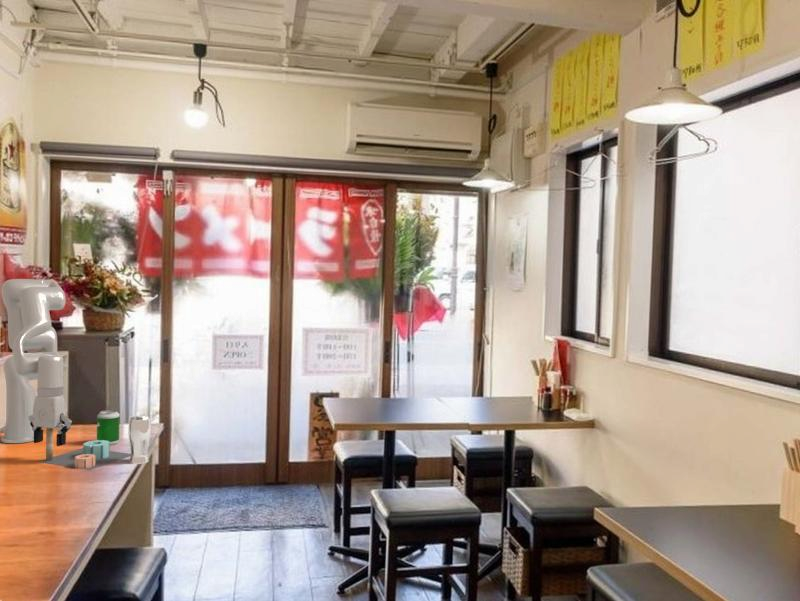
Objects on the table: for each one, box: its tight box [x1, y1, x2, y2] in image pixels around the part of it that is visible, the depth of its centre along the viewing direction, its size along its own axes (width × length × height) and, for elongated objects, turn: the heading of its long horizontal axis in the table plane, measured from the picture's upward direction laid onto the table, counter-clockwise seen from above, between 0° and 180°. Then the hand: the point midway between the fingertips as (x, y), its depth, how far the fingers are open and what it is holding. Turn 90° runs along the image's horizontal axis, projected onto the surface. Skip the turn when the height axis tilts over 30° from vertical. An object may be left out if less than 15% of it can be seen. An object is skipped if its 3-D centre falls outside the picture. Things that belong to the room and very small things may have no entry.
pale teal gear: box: [82, 439, 111, 459], centre depth 219 cm, size 8×8×4 cm
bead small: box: [75, 454, 96, 469], centre depth 208 cm, size 6×6×3 cm
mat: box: [37, 447, 131, 471], centre depth 217 cm, size 22×20×1 cm
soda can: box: [96, 409, 121, 446], centre depth 236 cm, size 8×8×12 cm
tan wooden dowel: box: [45, 428, 54, 461], centre depth 213 cm, size 2×2×12 cm
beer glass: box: [128, 415, 152, 465], centre depth 215 cm, size 7×7×15 cm
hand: (49, 443), depth 213 cm, fingers open, 9 cm apart
